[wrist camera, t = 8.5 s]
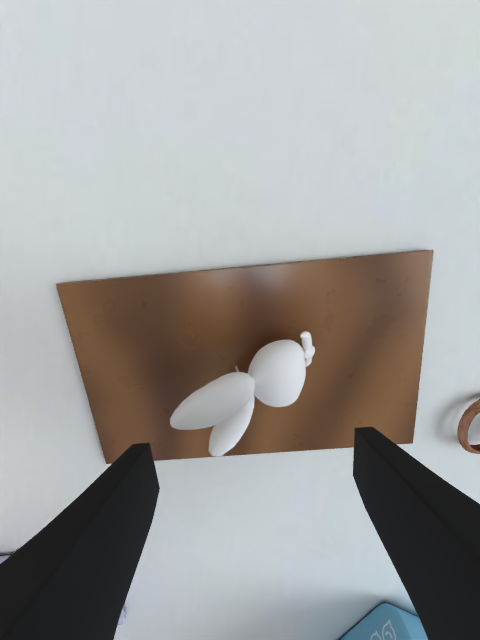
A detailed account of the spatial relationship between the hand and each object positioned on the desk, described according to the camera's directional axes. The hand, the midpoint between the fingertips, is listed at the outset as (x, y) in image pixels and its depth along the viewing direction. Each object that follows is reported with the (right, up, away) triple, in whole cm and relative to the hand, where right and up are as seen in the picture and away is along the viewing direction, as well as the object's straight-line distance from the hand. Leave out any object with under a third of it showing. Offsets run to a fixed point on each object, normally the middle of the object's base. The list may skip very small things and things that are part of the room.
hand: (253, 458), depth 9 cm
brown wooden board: (0, +2, +7) cm, 7 cm away
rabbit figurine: (0, +2, +7) cm, 7 cm away
